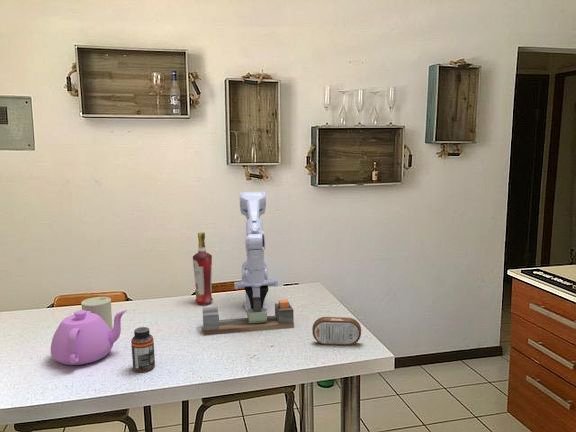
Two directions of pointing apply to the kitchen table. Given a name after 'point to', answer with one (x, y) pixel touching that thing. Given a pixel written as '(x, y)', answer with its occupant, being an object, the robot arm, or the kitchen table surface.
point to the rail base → (245, 322)
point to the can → (99, 308)
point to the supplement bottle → (143, 350)
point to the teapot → (84, 338)
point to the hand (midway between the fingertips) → (256, 307)
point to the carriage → (256, 312)
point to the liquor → (202, 272)
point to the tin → (336, 331)
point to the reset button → (283, 304)
